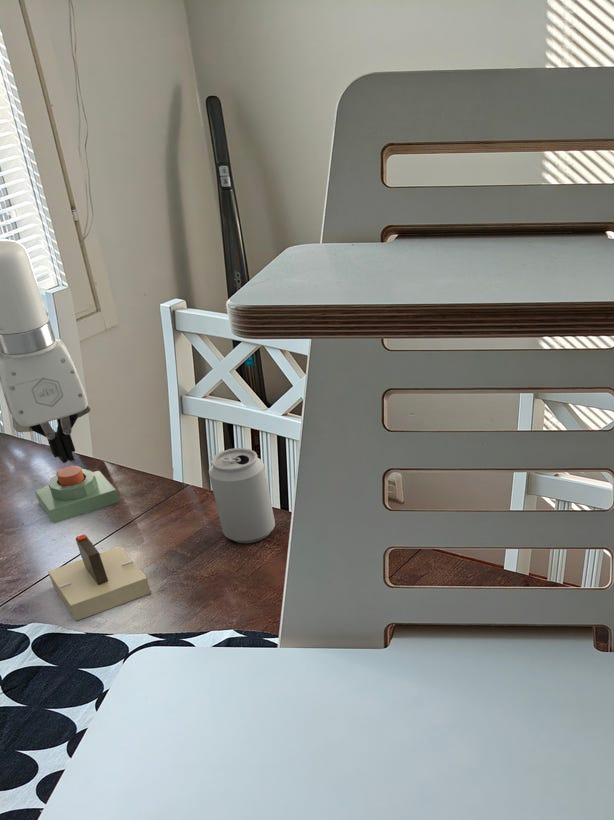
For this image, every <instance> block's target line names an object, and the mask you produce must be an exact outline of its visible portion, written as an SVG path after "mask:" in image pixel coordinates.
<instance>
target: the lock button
mask: <svg viewBox="0 0 614 820" xmlns="http://www.w3.org/2000/svg"><path fill="white" fill-rule="evenodd" d="M82 469H83V468H82V467H80V466H78V465H68V466H65V467H62V468H59V470H57V471H56V473H55V474H56V475H57V478H58V481H59V483H60V485H61V486H73V485H76V484H79V483H81V482H82V481H84V476H83V472H82ZM56 475H55V476H56Z"/></svg>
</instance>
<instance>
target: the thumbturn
mask: <svg viewBox="0 0 614 820" xmlns="http://www.w3.org/2000/svg"><path fill="white" fill-rule="evenodd" d="M75 542H76V544H77V548H78V550H79V553H80V557H81V560H82V559H83V562H84V565H85V567H86V569H87V570H88V572H89V573H90V574H91V576H92V577H93V579H94V580H95V581H96V583H97V584H98V585H99V584H102V583H105V582H108V578H107V575H106V572H105V569H104V566H103V563H102V560H101V557H100V552H99V551H98V549H97V548H96V547H95V545H94V544H93V543H92V541H91V540H90V538H89V537H88V535H87V534H85V533H84V534H81V535H77V536H76V537H75Z"/></svg>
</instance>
